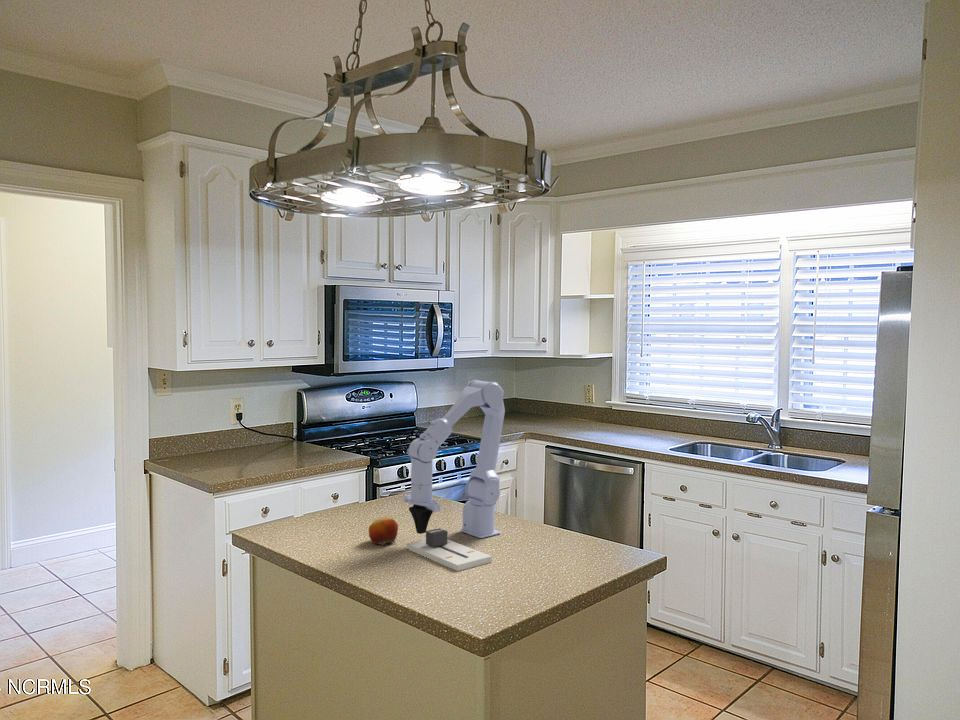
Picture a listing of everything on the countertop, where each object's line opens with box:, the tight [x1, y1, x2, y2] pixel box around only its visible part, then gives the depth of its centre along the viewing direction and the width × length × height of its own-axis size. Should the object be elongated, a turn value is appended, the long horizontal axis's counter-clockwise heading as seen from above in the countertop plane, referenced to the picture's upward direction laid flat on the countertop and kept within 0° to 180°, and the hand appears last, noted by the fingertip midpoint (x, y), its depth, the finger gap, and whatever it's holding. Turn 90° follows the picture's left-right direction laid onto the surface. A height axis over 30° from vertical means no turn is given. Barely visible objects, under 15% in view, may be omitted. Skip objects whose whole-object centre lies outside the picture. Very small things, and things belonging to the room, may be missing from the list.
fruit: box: [368, 517, 399, 546], centre depth 201 cm, size 8×8×8 cm
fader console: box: [406, 538, 493, 572], centre depth 190 cm, size 22×11×2 cm, turn 40°
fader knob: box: [425, 527, 448, 547], centre depth 194 cm, size 4×4×4 cm
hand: (421, 532), depth 199 cm, fingers closed
